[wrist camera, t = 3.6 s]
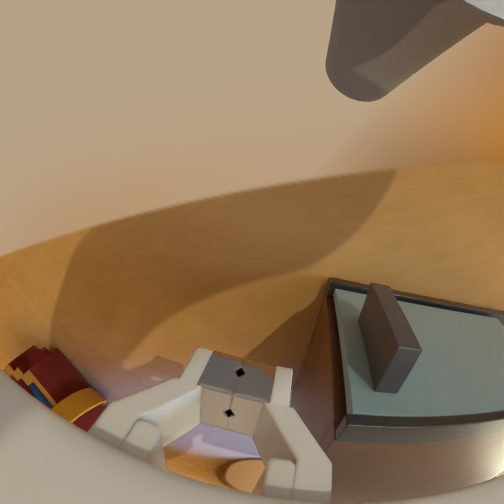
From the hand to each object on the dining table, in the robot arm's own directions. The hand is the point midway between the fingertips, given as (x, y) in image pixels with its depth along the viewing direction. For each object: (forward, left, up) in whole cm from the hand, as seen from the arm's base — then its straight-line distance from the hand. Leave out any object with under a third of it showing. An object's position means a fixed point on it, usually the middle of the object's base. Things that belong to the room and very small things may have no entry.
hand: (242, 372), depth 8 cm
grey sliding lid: (+1, +13, -12) cm, 17 cm away
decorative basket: (+37, -27, -13) cm, 48 cm away
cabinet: (+7, +16, -13) cm, 22 cm away
